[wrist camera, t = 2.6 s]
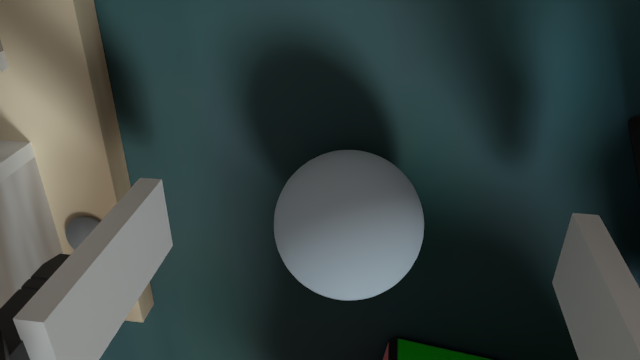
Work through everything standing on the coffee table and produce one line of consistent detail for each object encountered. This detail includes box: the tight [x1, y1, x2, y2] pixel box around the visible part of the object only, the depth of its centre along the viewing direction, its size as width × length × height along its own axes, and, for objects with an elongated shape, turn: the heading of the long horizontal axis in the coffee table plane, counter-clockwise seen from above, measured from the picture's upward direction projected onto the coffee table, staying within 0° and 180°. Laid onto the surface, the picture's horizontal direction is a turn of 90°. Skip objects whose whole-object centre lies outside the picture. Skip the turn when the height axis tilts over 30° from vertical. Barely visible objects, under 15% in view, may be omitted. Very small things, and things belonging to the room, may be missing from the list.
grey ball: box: [274, 150, 424, 300], centre depth 18 cm, size 5×5×5 cm
